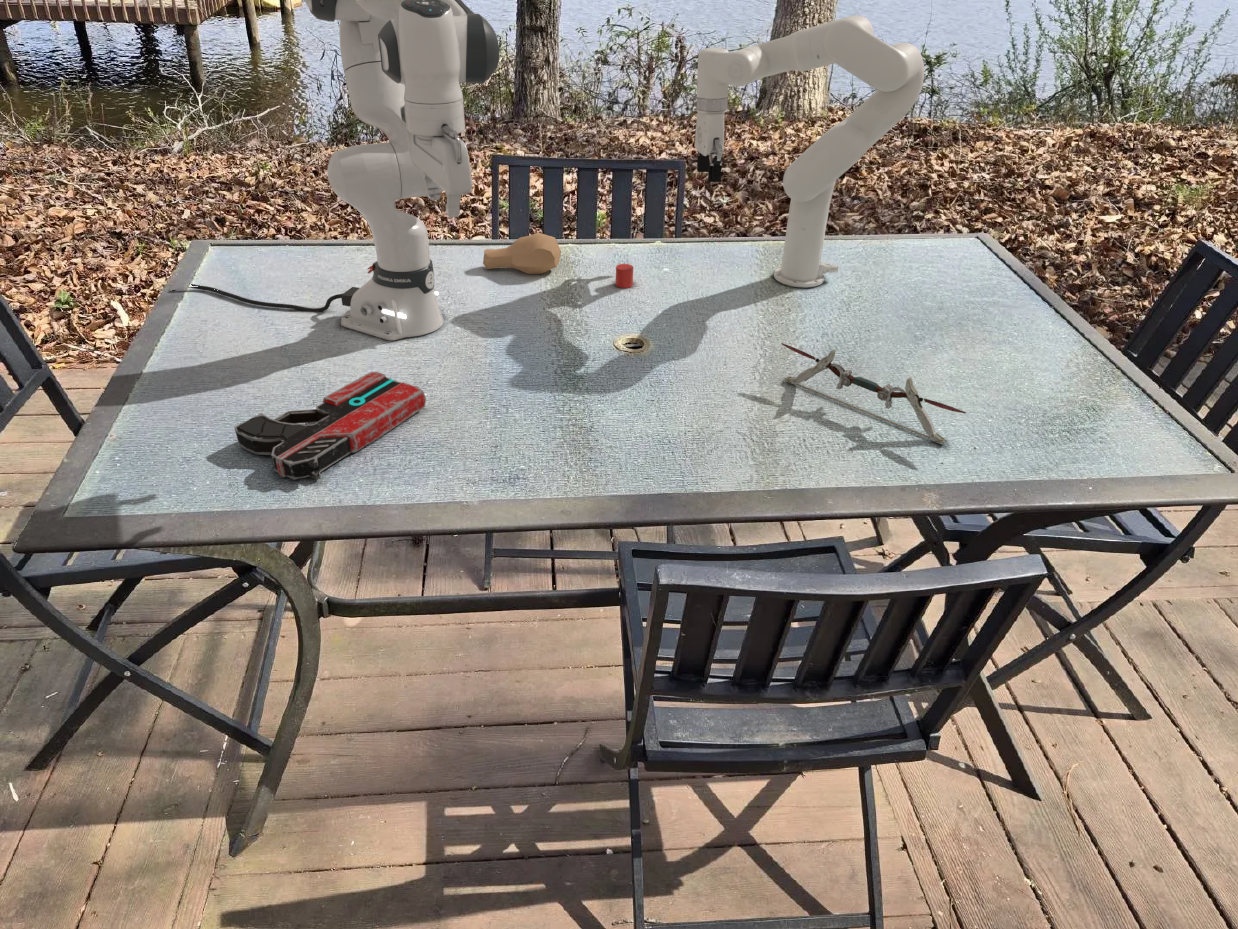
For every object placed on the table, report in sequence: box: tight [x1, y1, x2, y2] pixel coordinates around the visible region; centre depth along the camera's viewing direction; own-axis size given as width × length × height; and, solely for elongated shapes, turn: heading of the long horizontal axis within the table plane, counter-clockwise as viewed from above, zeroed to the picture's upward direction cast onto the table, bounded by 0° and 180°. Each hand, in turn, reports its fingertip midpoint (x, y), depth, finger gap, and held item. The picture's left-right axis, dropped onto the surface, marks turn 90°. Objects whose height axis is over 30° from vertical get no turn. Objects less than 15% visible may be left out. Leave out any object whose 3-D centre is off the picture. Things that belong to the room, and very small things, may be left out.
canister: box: [615, 263, 634, 289], centre depth 216 cm, size 4×4×5 cm
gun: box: [234, 371, 427, 481], centre depth 156 cm, size 4×31×19 cm
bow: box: [780, 342, 967, 445], centre depth 165 cm, size 39×2×10 cm, turn 47°
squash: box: [482, 232, 562, 275], centre depth 222 cm, size 11×20×9 cm, turn 90°
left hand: (443, 207), depth 143 cm, fingers open, 8 cm apart
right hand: (708, 176), depth 221 cm, fingers open, 9 cm apart
